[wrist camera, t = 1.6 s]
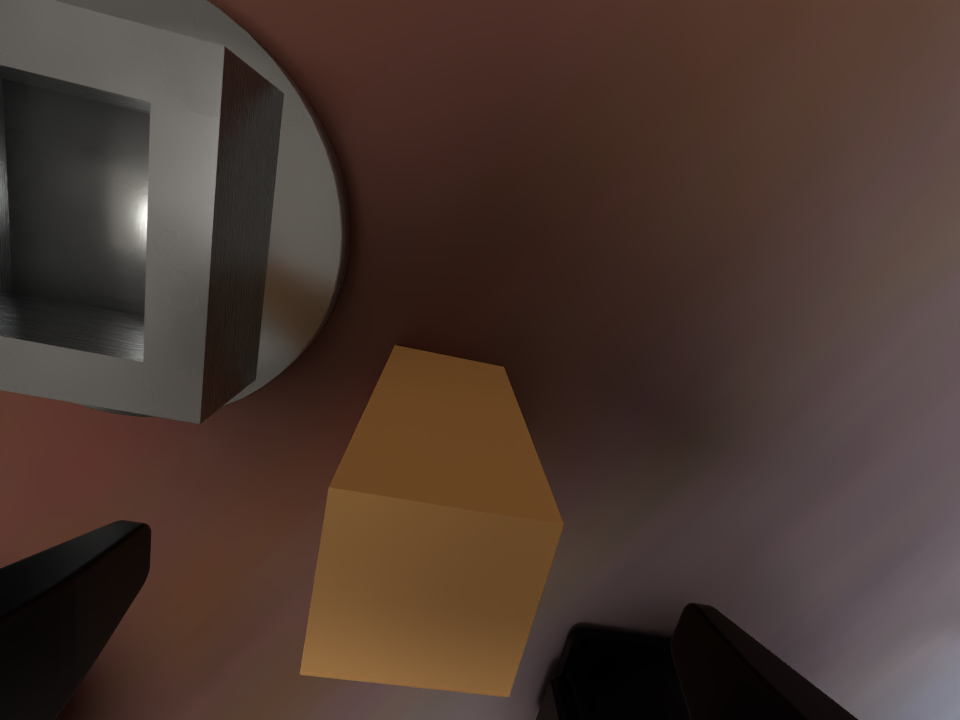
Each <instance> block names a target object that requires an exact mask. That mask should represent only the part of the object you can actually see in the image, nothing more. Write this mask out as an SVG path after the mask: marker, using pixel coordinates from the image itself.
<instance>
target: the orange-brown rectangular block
mask: <svg viewBox="0 0 960 720" xmlns="http://www.w3.org/2000/svg"><path fill="white" fill-rule="evenodd" d="M563 527H564V523H563V520H562V518H561V515H560V513H559V510H558V507H557V505H556V502H555V499H554V497H553V494H552V492H551V489H550V486H549V484H548V481H547V478H546V476H545V473H544V471H543V468H542V465H541V463H540V460H539V457H538V455H537V452H536V450H535V447H534V444H533V442H532V439H531V436H530V434H529V431H528V429H527V426H526V423H525V421H524V418H523V416H522V413H521V410H520V408H519V405H518V402H517V400H516V397H515V395H514V392H513V389H512V387H511V384H510V381H509V379H508V376H507V374H506V371H505V368H504V367H502V366H497V365H492V364H487V363H482V362H477V361H472V360H467V359H462V358H457V357H452V356H447V355H442V354H437V353H432V352H427V351H422V350H417V349H412V348H407V347H402V346H397V345H395V346H394V348H393V350H392V352H391V354H390V357H389V359H388V361H387V363H386V365H385V367H384V369H383V372H382V374H381V376H380V378H379V380H378V382H377V385H376V387H375V389H374V391H373V393H372V395H371V397H370V400H369V402H368V404H367V406H366V408H365V410H364V413H363V415H362V417H361V419H360V421H359V423H358V425H357V428H356V430H355V432H354V434H353V436H352V438H351V441H350V443H349V445H348V447H347V449H346V451H345V453H344V456H343V458H342V460H341V462H340V464H339V466H338V469H337V471H336V473H335V475H334V477H333V479H332V481H331V484H330V486H329V489H328V496H327V502H326V509H325V515H324V521H323V528H322V534H321V541H320V547H319V554H318V560H317V567H316V573H315V580H314V586H313V593H312V599H311V606H310V612H309V619H308V625H307V631H306V638H305V644H304V651H303V657H302V664H301V670H300V675H308V676H317V677H326V678H335V679H345V680H354V681H363V682H372V683H381V684H391V685H400V686H409V687H418V688H427V689H437V690H446V691H455V692H464V693H473V694H483V695H492V696H501V697H509V695H510V692H511V689H512V686H513V683H514V680H515V677H516V673H517V670H518V667H519V664H520V661H521V658H522V655H523V652H524V648H525V645H526V642H527V639H528V636H529V633H530V630H531V627H532V624H533V620H534V617H535V614H536V611H537V608H538V605H539V602H540V599H541V595H542V592H543V589H544V586H545V583H546V580H547V577H548V574H549V570H550V567H551V564H552V561H553V558H554V555H555V552H556V549H557V546H558V542H559V539H560V536H561V533H562V530H563Z"/></svg>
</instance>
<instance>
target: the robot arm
mask: <svg viewBox="0 0 960 720" xmlns="http://www.w3.org/2000/svg"><path fill="white" fill-rule="evenodd" d="M150 551H151V529H150V527H149V525H147V524H145V523H140V522H133V521H126V520H120V521H116V522H113V523H111V524H108V525H106V526H103V527H101V528H98V529H96V530H94V531H91V532H89V533H86V534H84V535H81V536H79V537H76V538H74V539H71V540H69V541H67V542H64V543H62V544H59V545H57V546H54V547H52V548H49V549H47V550H44V551H42V552H40V553H37V554H35V555H32V556H30V557H27V558H25V559H22V560H20V561H17V562H15V563H13V564H10V565H8V566H5V567H3V568H0V720H55V718H56V717H57V716H58V714H59V713H60V712H61V711H62V709H63V708H64V706H65V705H66V704H67V702H68V701H69V700H70V698H71V697H72V695H73V694H74V693H75V691H76V690H77V688H78V687H79V685H80V684H81V682H82V681H83V679H84V678H85V676H86V675H87V673H88V672H89V670H90V669H91V667H92V666H93V664H94V662H95V661H96V659H97V658H98V656H99V654H100V653H101V651H102V650H103V648H104V647H105V645H106V643H107V642H108V640H109V639H110V637H111V635H112V634H113V632H114V631H115V629H116V628H117V626H118V624H119V623H120V621H121V620H122V618H123V616H124V615H125V613H126V612H127V610H128V609H129V607H130V605H131V604H132V602H133V601H134V599H135V597H136V596H137V594H138V593H139V591H140V590H141V588H142V586H143V585H144V583H145V581H146V579H147V576H148V573H149V569H150ZM581 642H582V643H581ZM536 720H858V719H857V718H855V717H854V716H853V715H852V714H850V713H849V712H848V711H846V710H845V709H844V708H843V707H841V706H840V705H839V704H837V703H836V702H835V701H834V700H832V699H831V698H830V697H828V696H827V695H826V694H825V693H823V692H822V691H821V690H819V689H818V688H817V687H816V686H814V685H813V684H812V683H810V682H809V681H808V680H807V679H805V678H804V677H803V676H801V675H800V674H799V673H798V672H796V671H795V670H794V669H792V668H791V667H790V666H789V665H787V664H786V663H785V662H783V661H782V660H781V659H780V658H778V657H777V656H776V655H774V654H773V653H772V652H771V651H769V650H768V649H767V648H765V647H764V646H763V645H762V644H760V643H759V642H758V641H756V640H755V639H754V638H753V637H751V636H750V635H749V634H747V633H746V632H745V631H744V630H742V629H741V628H740V627H738V626H737V625H736V624H735V623H733V622H732V621H731V620H729V619H728V618H727V617H726V616H724V615H723V614H722V613H720V612H719V611H718V610H717V609H715V608H714V607H712V606H709V605H703V604H696V603H689V604H687V605H686V606H685V608H684V609H683V612H682V614H681V616H680V619H679V621H678V624H677V626H676V628H675V631H674V633H673V635H672V638H671V639H670V638H662V637H655V636H647V635H639V634H632V633H624V632H616V631H609V630H601V629H593V628H586V627H582V628H577V629H575V630H573V631H572V632H571V633H570V635H569V637H568V640H567V643H566V646H565V649H564V651H563V654H562V657H561V660H560V663H559V666H558V668H557V671H556V674H555V675H554V676H553V678H552V679H551V680H550V681H549V684H548V687H547V690H546V693H545V696H544V698H543V701H542V704H541V707H540V710H539V713H538V716H537V719H536Z"/></svg>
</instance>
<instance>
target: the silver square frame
mask: <svg viewBox="0 0 960 720" xmlns="http://www.w3.org/2000/svg"><path fill="white" fill-rule="evenodd" d="M349 243H350V222H349V207H348V201H347V196H346V190H345V185H344V180H343V177H342V173H341V170H340V167H339V164H338V160H337V157H336V154H335V152H334V149H333V147H332V145H331V143H330V140H329V138H328V136H327V133H326V131H325V129H324V127H323V125H322V123H321V121H320V120H319V118H318V116H317V115H316V113H315V111H314V110H313V108H312V106H311V104H310V103H309V101H308V99H307V98H306V97H305V95H304V94H303V93H302V91H301V90H300V89H299V87H298V86H297V85H296V83H295V82H294V81H293V79H292V78H291V77H290V75H289V74H288V73H287V72H286V71H285V70H284V69H283V68H282V67H281V66H280V65H279V64H278V63H277V61H276V60H275V59H274V58H273V57H272V56H271V55H270V54H269V53H268V52H267V51H266V50H265V49H264V48H263V47H262V46H261V45H260V44H259V43H258V42H257V41H256V40H255V39H254V38H252V37H251V36H250V35H249V34H248V33H247V32H246V31H245V30H244V29H243V28H241V27H240V26H239V25H238V24H237V23H235V22H234V21H233V20H232V19H231V18H230V17H228V16H227V15H226V14H225V13H224V12H222V11H221V10H220V9H219V8H217V7H216V6H214V5H213V4H211V3H210V2H208V1H207V0H0V390H3V391H9V392H15V393H20V394H26V395H32V396H38V397H44V398H50V399H56V400H62V401H68V402H73V403H76V404H79V405H82V406H85V407H88V408H92V409H96V410H101V411H105V412H110V413H114V414H122V415H131V416H140V417H162V418H168V419H174V420H179V421H185V422H191V423H197V424H201V423H202V422H203V421H204V420H206V419H207V418H208V417H209V416H211V415H212V414H213V413H214V412H216V411H217V410H218V409H220V408H221V407H222V406H224V405H227V404H229V403H232V402H234V401H237V400H239V399H242V398H243V397H245V396H247V395H249V394H251V393H252V392H254V391H256V390H258V389H260V388H261V387H263V386H264V385H266V384H267V383H268V382H269V381H271V380H272V379H273V378H275V377H276V376H277V375H279V374H280V373H281V372H282V371H284V370H285V369H286V368H287V367H288V366H289V365H291V364H292V363H293V362H294V361H295V360H296V359H297V358H298V357H299V356H300V355H301V354H302V353H303V352H304V351H305V350H306V349H307V348H308V347H309V346H310V345H311V344H312V342H313V341H314V340H315V338H316V337H317V336H318V334H319V333H320V331H321V330H322V329H323V327H324V326H325V324H326V322H327V320H328V318H329V316H330V315H331V313H332V311H333V309H334V307H335V305H336V302H337V299H338V297H339V294H340V291H341V288H342V286H343V282H344V277H345V273H346V268H347V263H348V256H349Z"/></svg>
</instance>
